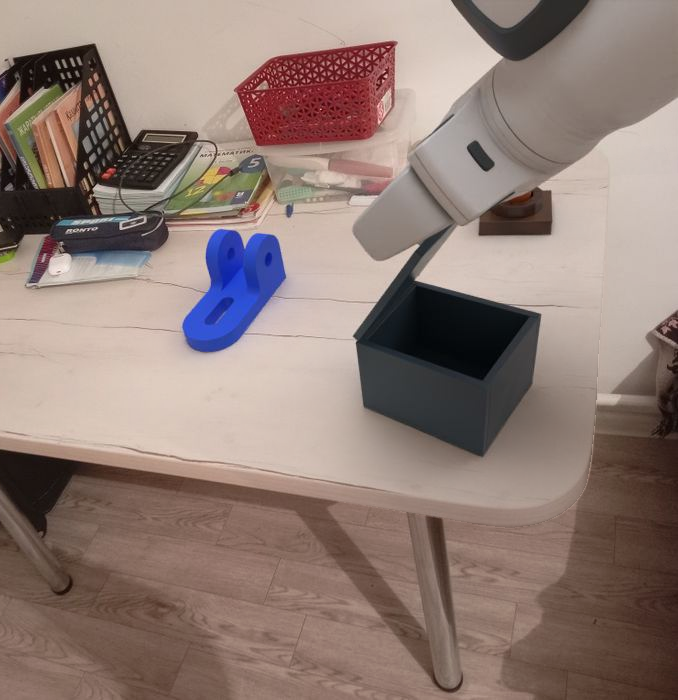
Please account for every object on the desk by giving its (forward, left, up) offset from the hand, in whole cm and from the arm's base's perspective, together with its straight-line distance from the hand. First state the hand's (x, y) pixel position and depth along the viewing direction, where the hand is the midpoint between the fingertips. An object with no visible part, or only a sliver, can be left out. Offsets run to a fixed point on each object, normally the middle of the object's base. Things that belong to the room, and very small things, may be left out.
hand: (394, 220), depth 58 cm
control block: (-11, -34, -21) cm, 41 cm away
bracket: (+25, -11, -21) cm, 35 cm away
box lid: (-2, +1, -5) cm, 5 cm away
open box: (-5, +2, -21) cm, 22 cm away
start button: (-11, -34, -18) cm, 40 cm away
